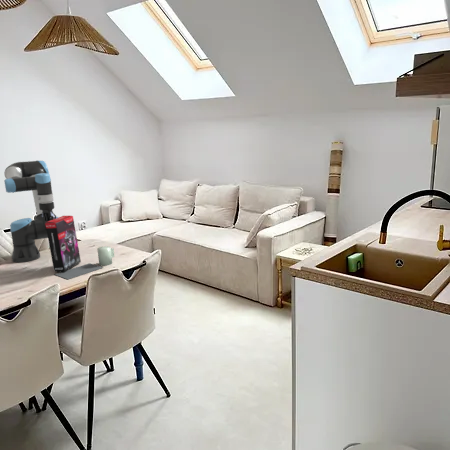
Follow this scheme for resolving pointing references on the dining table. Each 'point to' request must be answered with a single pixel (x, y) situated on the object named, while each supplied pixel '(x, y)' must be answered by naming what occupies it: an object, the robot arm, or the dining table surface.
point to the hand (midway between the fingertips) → (52, 244)
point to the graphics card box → (63, 243)
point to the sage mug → (105, 255)
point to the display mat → (78, 271)
